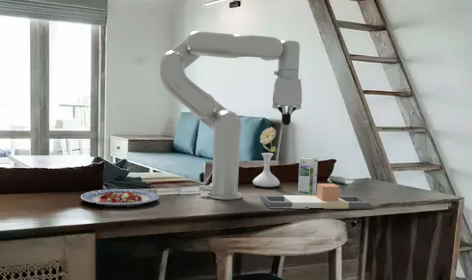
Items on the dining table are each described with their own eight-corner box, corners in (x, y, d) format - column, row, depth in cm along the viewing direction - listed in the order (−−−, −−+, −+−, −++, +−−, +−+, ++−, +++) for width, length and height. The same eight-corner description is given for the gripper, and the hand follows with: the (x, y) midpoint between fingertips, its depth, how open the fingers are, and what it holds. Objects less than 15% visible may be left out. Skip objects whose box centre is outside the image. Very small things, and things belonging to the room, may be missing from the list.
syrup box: (297, 195, 203) (298, 157, 202) (302, 192, 208) (304, 156, 207) (311, 196, 200) (313, 158, 199) (316, 194, 205) (318, 157, 204)
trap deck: (268, 208, 176) (269, 202, 176) (260, 200, 189) (260, 195, 189) (370, 208, 182) (370, 202, 182) (355, 201, 195) (355, 195, 195)
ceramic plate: (77, 196, 186) (77, 187, 186) (150, 194, 195) (150, 186, 195) (84, 212, 162) (84, 202, 162) (166, 208, 171) (166, 199, 171)
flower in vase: (248, 184, 223) (251, 125, 221) (273, 184, 227) (276, 126, 225) (259, 189, 211) (261, 127, 209) (285, 189, 214) (288, 128, 212)
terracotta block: (322, 200, 182) (322, 186, 182) (316, 197, 188) (317, 183, 188) (338, 200, 184) (339, 186, 183) (332, 197, 189) (333, 183, 189)
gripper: (270, 73, 189) (268, 124, 190) (310, 75, 191) (308, 126, 193) (266, 74, 196) (263, 123, 198) (304, 76, 199) (302, 124, 200)
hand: (285, 124), depth 195 cm, fingers closed
